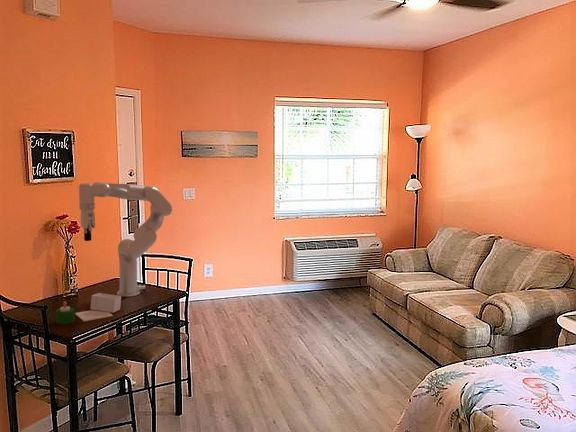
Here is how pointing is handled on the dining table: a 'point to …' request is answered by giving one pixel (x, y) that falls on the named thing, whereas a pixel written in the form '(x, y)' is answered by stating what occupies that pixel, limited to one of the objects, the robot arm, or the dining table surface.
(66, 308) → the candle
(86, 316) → the mat
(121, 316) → the dining table surface
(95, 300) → the supplement box
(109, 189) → the robot arm
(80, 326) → the dining table surface
